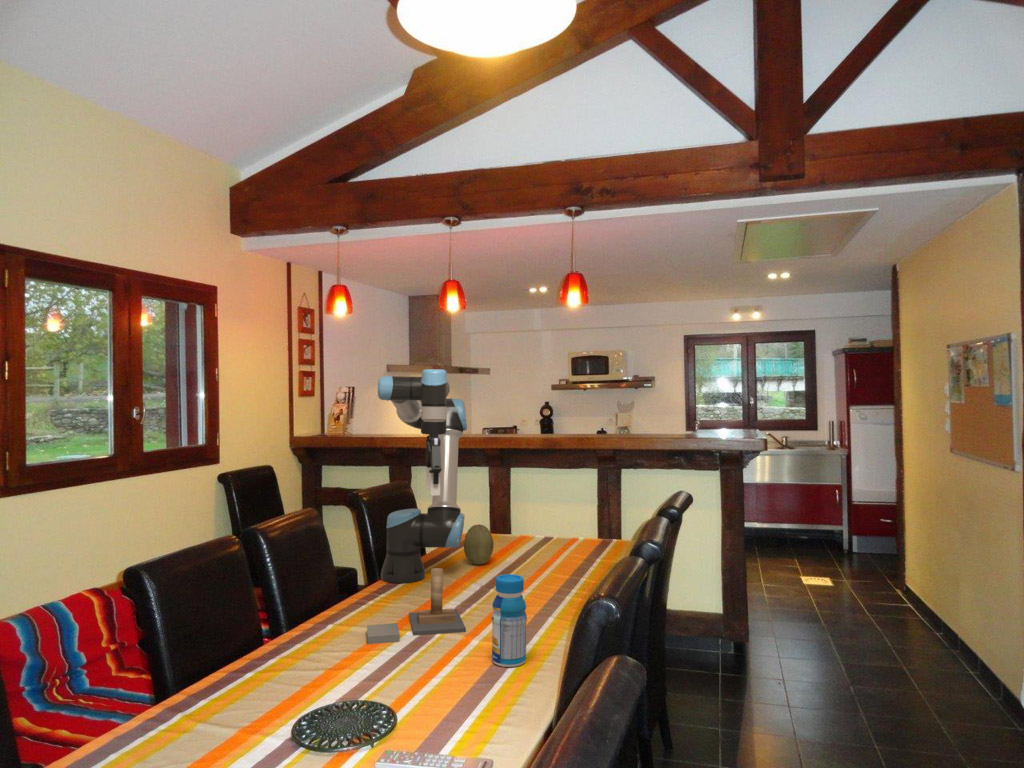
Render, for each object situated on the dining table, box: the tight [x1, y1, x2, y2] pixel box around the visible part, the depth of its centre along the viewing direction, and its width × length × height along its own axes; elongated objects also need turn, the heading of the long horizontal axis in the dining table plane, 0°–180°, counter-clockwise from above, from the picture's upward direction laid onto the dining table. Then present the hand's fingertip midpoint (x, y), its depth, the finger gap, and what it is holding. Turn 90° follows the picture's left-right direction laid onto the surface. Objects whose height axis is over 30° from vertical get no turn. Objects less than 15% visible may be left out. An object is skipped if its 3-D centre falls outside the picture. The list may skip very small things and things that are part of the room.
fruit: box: [463, 523, 495, 566], centre depth 257 cm, size 11×11×15 cm
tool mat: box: [408, 609, 467, 636], centre depth 189 cm, size 16×14×1 cm
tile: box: [366, 622, 401, 645], centre depth 178 cm, size 2×8×9 cm
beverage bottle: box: [491, 573, 528, 668], centre depth 163 cm, size 8×8×20 cm
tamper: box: [416, 567, 456, 625], centre depth 189 cm, size 6×10×14 cm, turn 103°
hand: (432, 491), depth 203 cm, fingers open, 13 cm apart
